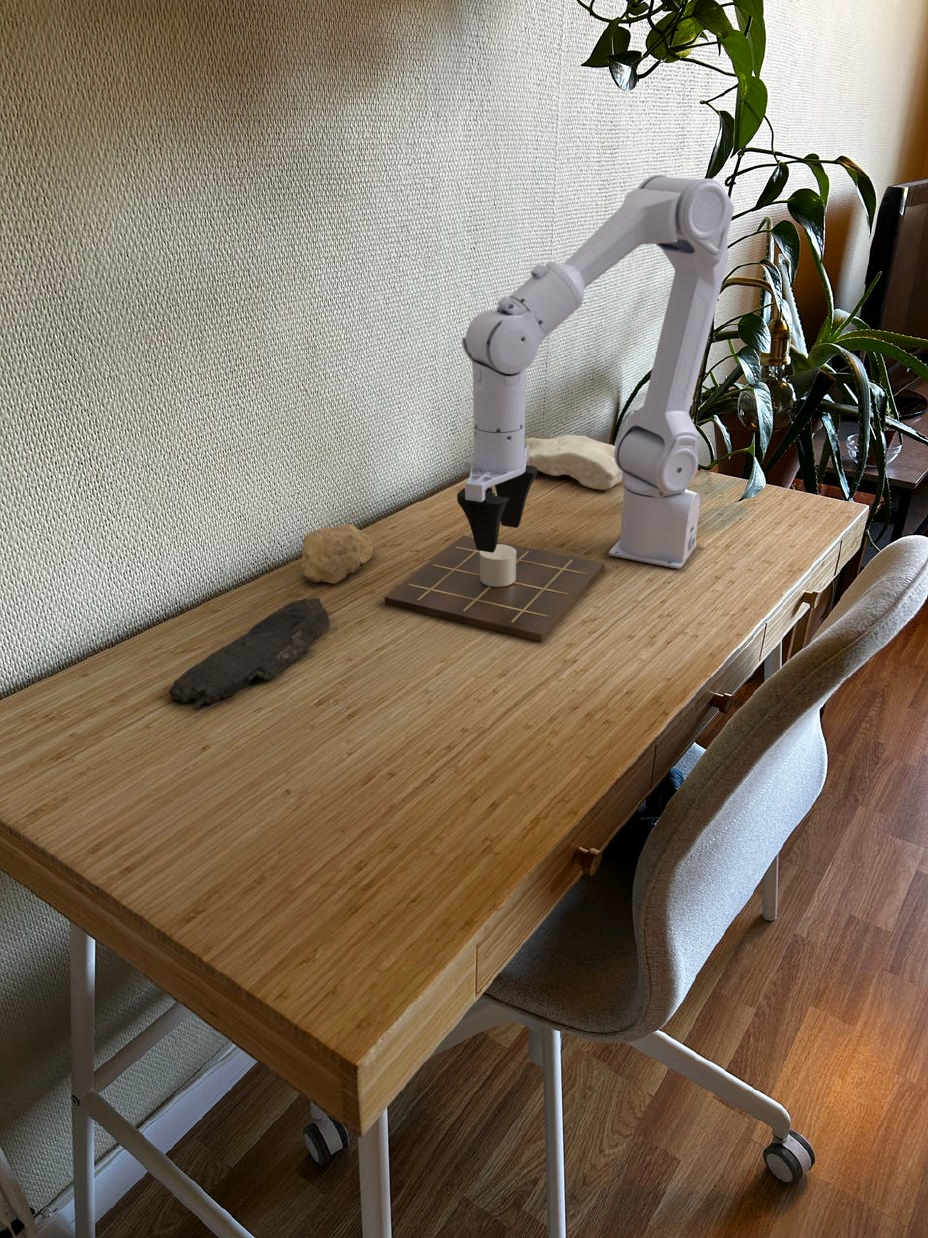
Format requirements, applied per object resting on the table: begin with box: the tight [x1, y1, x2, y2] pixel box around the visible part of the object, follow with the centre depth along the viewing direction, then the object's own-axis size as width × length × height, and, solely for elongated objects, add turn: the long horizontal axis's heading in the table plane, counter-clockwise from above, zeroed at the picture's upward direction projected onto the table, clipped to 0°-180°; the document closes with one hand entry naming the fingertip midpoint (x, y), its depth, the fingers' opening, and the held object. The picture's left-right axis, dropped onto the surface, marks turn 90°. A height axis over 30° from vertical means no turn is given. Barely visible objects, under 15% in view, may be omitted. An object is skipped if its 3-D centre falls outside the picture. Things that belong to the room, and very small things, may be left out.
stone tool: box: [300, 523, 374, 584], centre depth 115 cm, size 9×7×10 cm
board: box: [383, 534, 606, 643], centre depth 111 cm, size 20×20×1 cm
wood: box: [168, 597, 331, 710], centre depth 96 cm, size 22×7×3 cm, turn 150°
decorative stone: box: [524, 434, 624, 491], centre depth 146 cm, size 21×5×15 cm
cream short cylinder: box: [479, 544, 516, 587], centre depth 110 cm, size 4×4×4 cm
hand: (498, 537), depth 108 cm, fingers open, 7 cm apart
